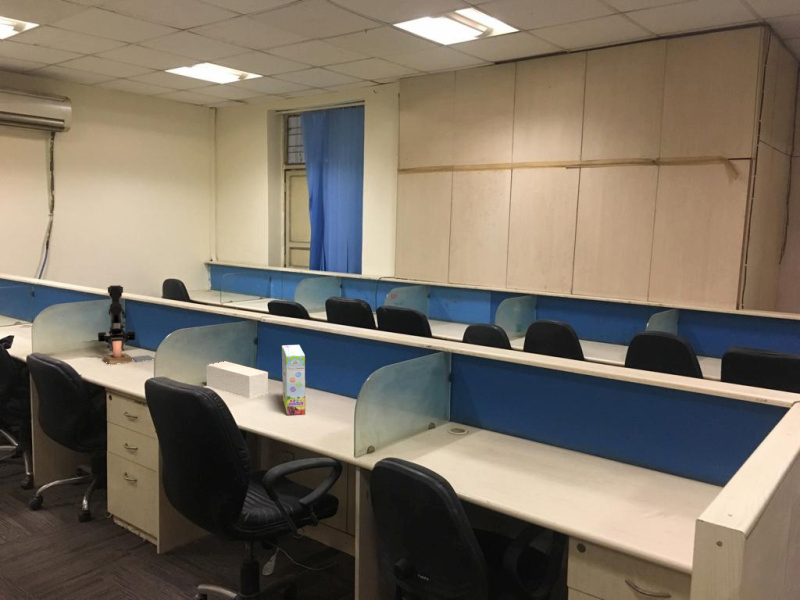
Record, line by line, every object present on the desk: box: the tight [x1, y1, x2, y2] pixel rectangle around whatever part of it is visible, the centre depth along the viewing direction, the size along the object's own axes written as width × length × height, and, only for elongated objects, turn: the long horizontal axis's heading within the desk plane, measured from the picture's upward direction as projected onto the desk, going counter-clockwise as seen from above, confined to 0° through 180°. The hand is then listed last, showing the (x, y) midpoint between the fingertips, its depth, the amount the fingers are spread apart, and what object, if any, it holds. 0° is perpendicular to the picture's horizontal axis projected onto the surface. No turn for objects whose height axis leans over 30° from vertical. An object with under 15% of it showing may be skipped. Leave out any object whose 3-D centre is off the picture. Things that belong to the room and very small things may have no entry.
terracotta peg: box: [112, 341, 123, 358], centre depth 347 cm, size 4×4×11 cm
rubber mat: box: [131, 354, 155, 362], centre depth 356 cm, size 10×10×1 cm
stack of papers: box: [206, 360, 269, 400], centre depth 298 cm, size 32×11×11 cm, turn 52°
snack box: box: [281, 344, 306, 416], centre depth 271 cm, size 22×9×26 cm, turn 15°
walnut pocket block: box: [102, 352, 133, 365], centre depth 348 cm, size 12×12×3 cm
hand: (117, 348), depth 346 cm, fingers closed on terracotta peg, 4 cm apart
